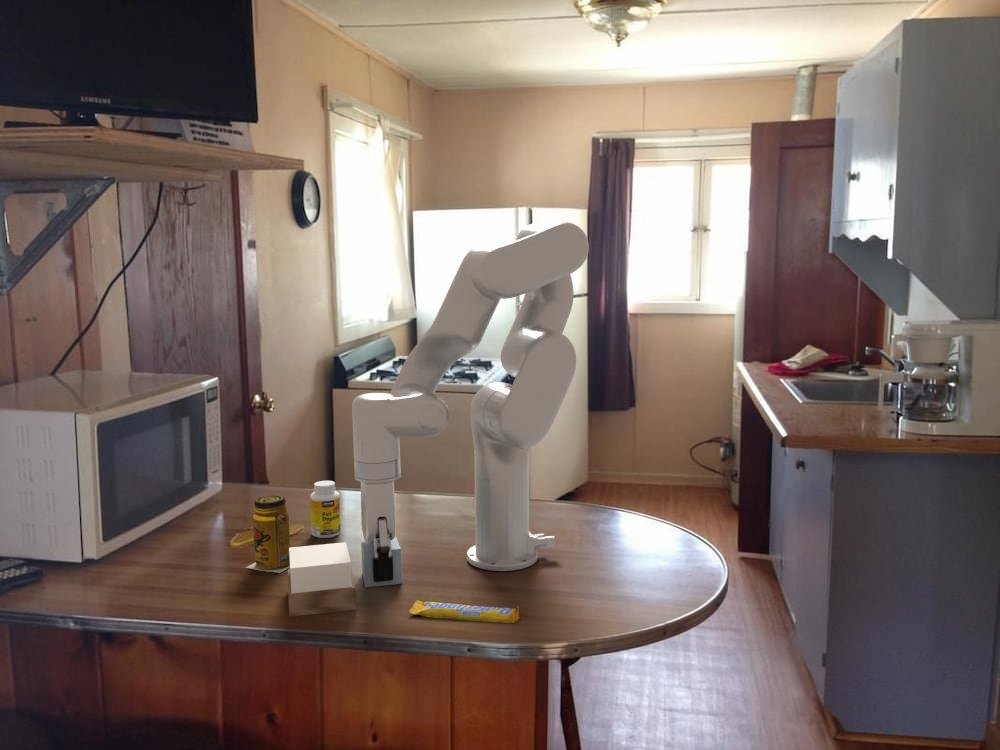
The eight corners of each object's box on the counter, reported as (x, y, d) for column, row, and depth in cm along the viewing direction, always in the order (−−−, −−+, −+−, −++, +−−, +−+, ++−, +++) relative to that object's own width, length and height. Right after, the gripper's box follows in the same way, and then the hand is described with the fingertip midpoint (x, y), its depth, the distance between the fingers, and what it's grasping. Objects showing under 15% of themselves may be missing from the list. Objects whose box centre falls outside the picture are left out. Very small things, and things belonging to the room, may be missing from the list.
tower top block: (346, 565, 140) (346, 542, 139) (351, 587, 131) (350, 562, 131) (290, 571, 138) (289, 547, 137) (291, 593, 129) (290, 568, 128)
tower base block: (351, 587, 141) (350, 563, 141) (356, 612, 132) (355, 587, 131) (289, 593, 139) (288, 569, 138) (289, 619, 129) (288, 594, 129)
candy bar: (523, 615, 130) (523, 604, 130) (518, 628, 126) (518, 616, 126) (416, 607, 133) (416, 596, 133) (408, 619, 129) (408, 607, 129)
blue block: (397, 570, 147) (396, 536, 146) (401, 583, 141) (400, 548, 140) (362, 573, 146) (360, 540, 145) (365, 587, 140) (363, 552, 139)
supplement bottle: (321, 541, 162) (319, 489, 160) (306, 534, 166) (303, 483, 164) (346, 534, 166) (344, 483, 164) (330, 527, 170) (328, 477, 168)
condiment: (244, 568, 149) (241, 501, 147) (274, 552, 156) (271, 488, 155) (279, 574, 146) (276, 506, 144) (308, 557, 154) (305, 492, 152)
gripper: (351, 457, 148) (355, 556, 151) (358, 484, 131) (362, 595, 134) (394, 454, 150) (397, 552, 153) (407, 481, 133) (410, 590, 136)
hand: (381, 571), depth 143 cm, fingers closed on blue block, 6 cm apart
